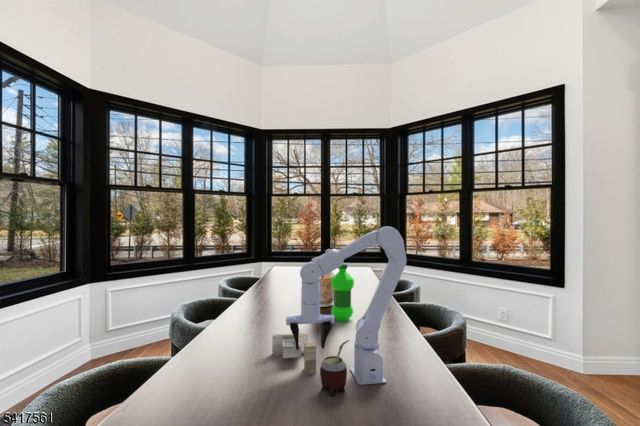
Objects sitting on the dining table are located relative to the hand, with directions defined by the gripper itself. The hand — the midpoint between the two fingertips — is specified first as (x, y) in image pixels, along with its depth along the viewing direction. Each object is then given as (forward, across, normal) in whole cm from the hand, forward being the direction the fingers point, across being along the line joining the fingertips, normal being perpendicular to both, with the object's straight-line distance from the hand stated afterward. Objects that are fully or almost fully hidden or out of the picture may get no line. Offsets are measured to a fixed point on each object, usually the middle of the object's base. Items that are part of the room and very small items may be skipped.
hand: (310, 347), depth 96 cm
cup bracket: (+7, +5, -9) cm, 13 cm away
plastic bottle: (+7, -21, -46) cm, 51 cm away
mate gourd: (+7, -5, +12) cm, 15 cm away
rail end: (+7, 0, 0) cm, 7 cm away
